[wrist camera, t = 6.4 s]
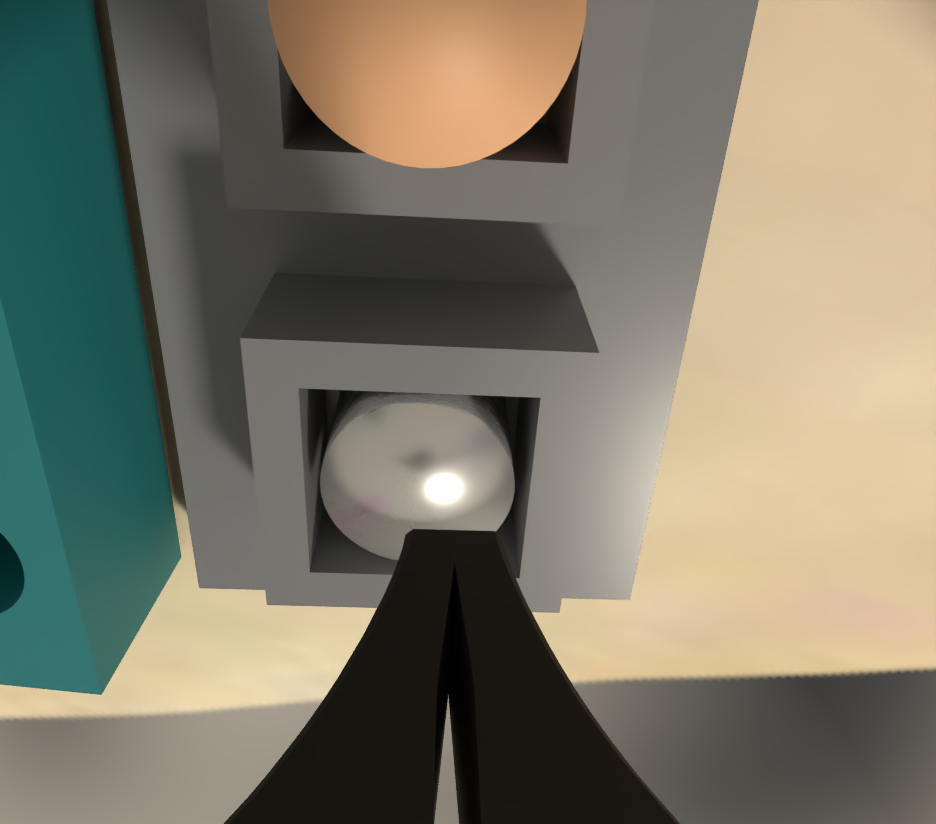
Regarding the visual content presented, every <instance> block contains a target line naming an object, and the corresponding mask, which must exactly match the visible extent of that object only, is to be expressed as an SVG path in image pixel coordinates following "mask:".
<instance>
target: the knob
mask: <svg viewBox="0 0 936 824" xmlns="http://www.w3.org/2000/svg"><path fill="white" fill-rule="evenodd" d="M320 489H321V496H322V499H323V503H324V506H325V508H326V510H327V512H328V514H329V516H330V518H331V519H332V521H333V522H334V524H335V525H336V526H337V527H338V528H339V530H340V531H341V532H342V533H343V534H344V535H346V536H347V537H348V538H349V539H350V540H351V541H353V542H354V543H356V544H357V545H359V546H360V547H362V548H364V549H366V550H368V551H369V552H372V553H374V554H377V555H379V556H382V557H386V558H389V559H393V560H399V557H400V554H401V551H402V547H403V544H404V539H405V535H406V534H407V533H408V532H410V531H411V530H412V529H437V530H476V531H495V532H496V531H497V530H498V528H499V527H500V526H501V524H502V523H503V522H504V520H505V518H506V516H507V515H508V513H509V511H510V508H511V505H512V502H513V497H514V492H515V479H514V470H513V462H512V453H511V445H510V436H509V428H508V419H507V411H506V403H505V397H504V396H483V395H457V394H432V393H406V392H380V391H354V390H341V391H340V394H339V398H338V402H337V406H336V411H335V415H334V419H333V423H332V427H331V431H330V435H329V439H328V443H327V447H326V451H325V455H324V459H323V464H322V468H321V473H320Z"/></svg>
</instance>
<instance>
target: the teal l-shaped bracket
mask: <svg viewBox="0 0 936 824" xmlns="http://www.w3.org/2000/svg"><path fill="white" fill-rule="evenodd" d="M180 558H181V552H180V545H179V539H178V533H177V526H176V520H175V514H174V508H173V501H172V495H171V489H170V482H169V476H168V470H167V463H166V457H165V451H164V445H163V438H162V432H161V426H160V419H159V413H158V407H157V400H156V394H155V388H154V382H153V375H152V369H151V363H150V356H149V350H148V344H147V337H146V331H145V325H144V319H143V312H142V306H141V300H140V293H139V287H138V281H137V274H136V268H135V262H134V256H133V249H132V243H131V237H130V230H129V224H128V218H127V211H126V205H125V199H124V193H123V186H122V180H121V174H120V167H119V161H118V155H117V148H116V142H115V136H114V130H113V123H112V117H111V111H110V104H109V98H108V92H107V85H106V79H105V73H104V67H103V60H102V54H101V48H100V41H99V35H98V29H97V22H96V16H95V10H94V4H93V0H0V684H2V685H12V686H21V687H31V688H41V689H50V690H60V691H70V692H79V693H89V694H99V695H102V693H103V691H104V689H105V688H106V686H107V684H108V683H109V681H110V679H111V677H112V676H113V674H114V672H115V670H116V669H117V667H118V665H119V664H120V662H121V660H122V658H123V657H124V655H125V653H126V651H127V650H128V648H129V646H130V645H131V643H132V641H133V639H134V638H135V636H136V634H137V632H138V631H139V629H140V627H141V626H142V624H143V622H144V620H145V619H146V617H147V615H148V613H149V612H150V610H151V608H152V607H153V605H154V603H155V601H156V600H157V598H158V596H159V594H160V593H161V591H162V589H163V588H164V586H165V584H166V582H167V581H168V579H169V577H170V576H171V574H172V572H173V570H174V569H175V567H176V565H177V563H178V562H179V560H180Z"/></svg>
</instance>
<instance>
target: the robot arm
mask: <svg viewBox="0 0 936 824" xmlns="http://www.w3.org/2000/svg"><path fill="white" fill-rule="evenodd" d="M448 694H449V706H450V719H451V731H452V743H453V755H454V765H455V779H456V791H457V801H458V802H457V803H458V814H459V824H680V823H679V822H678V821H677V820H676V818H675V817H674V816H673V815H672V814H671V813H670V812H669V811H668V809H667V808H666V807H665V806H664V805H663V804H662V802H661V801H660V800H659V799H658V798H657V797H656V796H655V794H654V793H653V792H651V790H650V789H649V788H648V786H647V785H646V784H645V783H644V782H643V781H642V780H641V778H640V777H639V776H638V775H637V774H636V772H635V771H634V770H633V769H632V767H631V766H630V765H629V763H628V762H627V761H626V760H625V758H624V757H623V756H622V754H621V753H620V752H619V750H618V749H617V748H616V747H615V745H614V744H613V743H612V741H611V740H610V739H609V738H608V736H607V735H606V733H605V732H604V730H603V729H602V728H601V726H600V725H599V723H598V722H597V721H596V719H595V718H594V717H593V715H592V714H591V712H590V711H589V709H588V708H587V706H586V705H585V703H584V702H583V700H582V699H581V697H580V696H579V694H578V693H577V691H576V690H575V688H574V686H573V685H572V683H571V682H570V680H569V678H568V677H567V675H566V673H565V672H564V670H563V668H562V667H561V665H560V664H559V662H558V660H557V659H556V657H555V655H554V653H553V652H552V650H551V648H550V646H549V645H548V643H547V641H546V639H545V637H544V635H543V633H542V631H541V629H540V628H539V626H538V624H537V622H536V620H535V618H534V616H533V614H532V612H531V610H530V608H529V606H528V604H527V602H526V600H525V598H524V596H523V594H522V591H521V589H520V587H519V585H518V582H517V580H516V578H515V575H514V573H513V570H512V568H511V565H510V563H509V560H508V557H507V554H506V551H505V548H504V545H503V541H502V537H501V536H499V535H498V534H497V533H496V532H495V531H476V530H437V529H412V530H411V531H410V532H408V533H407V534H406V535H405V539H404V544H403V547H402V551H401V554H400V557H399V560H398V563H397V565H396V568H395V570H394V573H393V575H392V578H391V580H390V582H389V584H388V587H387V589H386V591H385V594H384V596H383V598H382V600H381V602H380V604H379V606H378V608H377V610H376V612H375V614H374V616H373V617H372V619H371V621H370V623H369V625H368V627H367V629H366V631H365V633H364V635H363V637H362V638H361V640H360V642H359V643H358V645H357V647H356V648H355V650H354V652H353V654H352V655H351V657H350V659H349V660H348V662H347V664H346V665H345V667H344V669H343V670H342V672H341V674H340V675H339V677H338V679H337V680H336V682H335V683H334V685H333V686H332V688H331V689H330V691H329V692H328V694H327V695H326V697H325V698H324V700H323V701H322V703H321V704H320V706H319V707H318V709H317V710H316V711H315V713H314V714H313V716H312V717H311V719H310V720H309V721H308V723H307V724H306V725H305V727H304V728H303V729H302V731H301V732H300V734H299V735H298V736H297V738H296V739H295V740H294V741H293V743H292V744H291V745H290V746H289V748H288V749H287V750H286V751H285V753H284V754H283V755H282V757H281V758H280V759H279V760H278V762H277V763H276V764H275V766H274V767H273V768H272V769H271V771H270V772H269V773H268V774H267V775H266V777H265V778H264V779H263V780H262V781H261V783H260V784H259V785H258V786H257V787H256V789H255V790H254V791H253V792H252V793H251V794H250V795H249V797H248V798H247V799H246V800H245V801H244V802H243V803H242V804H241V805H240V806H239V808H238V809H237V810H236V811H235V812H234V813H233V814H232V815H231V816H230V817H229V818H228V820H227V821H226V822H225V823H224V824H434V819H435V810H436V800H437V792H438V783H439V774H440V765H441V756H442V747H443V738H444V729H445V719H446V710H447V701H448Z"/></svg>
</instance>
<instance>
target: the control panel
mask: <svg viewBox="0 0 936 824" xmlns="http://www.w3.org/2000/svg"><path fill="white" fill-rule="evenodd" d="M758 1H759V0H587V5H586V18H585V24H584V30H583V35H582V40H581V43H580V47H579V50H578V53H577V57H576V60H575V62H574V65H573V67H572V69H571V72H570V74H569V76H568V79H567V81H566V82H565V84H564V86H563V88H562V89H561V91H560V93H559V94H558V96H557V98H556V99H555V101H554V102H553V103H552V105H551V106H550V107H549V109H548V110H547V111H546V113H545V114H544V115H543V116H542V117H541V118H540V119H539V120H538V121H537V122H536V123H535V124H534V125H533V126H532V127H531V129H530V130H528V131H527V132H526V133H525V134H523V135H522V136H521V137H520V138H518V139H517V140H516V141H515V142H513V143H511V144H510V145H508V146H506V147H505V148H503V149H502V150H500V151H498V152H496V153H494V154H492V155H490V156H487V157H485V158H483V159H480V160H477V161H474V162H470V163H467V164H464V165H459V166H452V167H446V168H417V167H409V166H403V165H399V164H395V163H391V162H387V161H384V160H382V159H379V158H377V157H374V156H372V155H369V154H367V153H365V152H363V151H362V150H360V149H358V148H356V147H354V146H352V145H351V144H349V143H348V142H347V141H345V140H344V139H342V138H341V137H340V136H338V135H337V134H336V133H334V132H333V131H332V130H331V129H330V128H329V127H328V126H327V125H326V124H325V123H323V122H322V121H321V120H320V119H319V118H318V117H317V115H316V114H315V113H314V112H313V111H312V109H311V108H310V107H309V106H308V105H307V103H306V102H305V101H304V99H303V98H302V96H301V95H300V93H299V92H298V90H297V89H296V87H295V86H294V84H293V82H292V80H291V78H290V76H289V74H288V72H287V70H286V68H285V66H284V64H283V62H282V59H281V56H280V54H279V51H278V48H277V46H276V43H275V39H274V35H273V31H272V26H271V22H270V16H269V8H268V0H107V6H108V13H109V19H110V26H111V32H112V38H113V45H114V51H115V57H116V64H117V70H118V76H119V83H120V89H121V95H122V102H123V108H124V114H125V121H126V127H127V133H128V140H129V146H130V152H131V159H132V165H133V171H134V178H135V184H136V190H137V197H138V203H139V209H140V216H141V222H142V228H143V235H144V241H145V247H146V254H147V260H148V267H149V273H150V279H151V286H152V292H153V298H154V305H155V311H156V317H157V324H158V330H159V336H160V343H161V349H162V355H163V362H164V368H165V374H166V381H167V387H168V393H169V400H170V406H171V412H172V419H173V425H174V431H175V438H176V444H177V450H178V457H179V463H180V469H181V476H182V482H183V489H184V495H185V501H186V508H187V514H188V520H189V527H190V533H191V539H192V546H193V552H194V558H195V565H196V571H197V577H198V584H199V588H216V589H252V590H266V600H267V605H291V606H328V607H366V608H378V606H379V604H380V602H381V600H382V598H383V596H384V594H385V591H386V589H387V587H388V584H389V582H390V580H391V578H392V575H393V573H394V570H395V568H396V565H397V563H398V560H393V559H389V558H386V557H382V556H379V555H377V554H374V553H372V552H369V551H368V550H366V549H364V548H362V547H360V546H359V545H357V544H356V543H354V542H353V541H351V540H350V539H349V538H348V537H347V536H346V535H344V534H343V533H342V532H341V531H340V530H339V528H338V527H337V526H336V525H335V524H334V522H333V521H332V519H331V518H330V516H329V514H328V512H327V510H326V508H325V506H324V503H323V499H322V496H321V489H320V473H321V468H322V464H323V459H324V455H325V451H326V447H327V443H328V439H329V435H330V431H331V427H332V423H333V419H334V415H335V411H336V406H337V402H338V398H339V394H340V391H341V390H354V391H380V392H406V393H432V394H457V395H483V396H504V397H505V403H506V411H507V419H508V428H509V436H510V445H511V453H512V462H513V470H514V479H515V492H514V497H513V502H512V505H511V508H510V511H509V513H508V515H507V516H506V518H505V520H504V522H503V523H502V524H501V526H500V527H499V528H498V530H497V531H496V533H497V534H498V535H499V536H501V537H502V541H503V545H504V548H505V551H506V554H507V557H508V560H509V563H510V565H511V568H512V570H513V573H514V575H515V578H516V580H517V582H518V585H519V587H520V589H521V591H522V594H523V596H524V598H525V600H526V602H527V604H528V606H529V608H530V610H531V612H551V613H559V612H560V605H561V599H562V598H577V599H613V600H630V597H631V592H632V588H633V583H634V578H635V574H636V569H637V564H638V560H639V555H640V550H641V546H642V541H643V536H644V532H645V527H646V523H647V518H648V513H649V509H650V504H651V499H652V495H653V490H654V485H655V481H656V476H657V471H658V467H659V462H660V457H661V453H662V448H663V443H664V439H665V434H666V429H667V425H668V420H669V415H670V411H671V406H672V401H673V397H674V392H675V387H676V383H677V378H678V373H679V369H680V364H681V359H682V355H683V350H684V346H685V341H686V336H687V332H688V327H689V322H690V318H691V313H692V308H693V304H694V299H695V294H696V290H697V285H698V280H699V276H700V271H701V266H702V262H703V257H704V252H705V248H706V243H707V238H708V234H709V229H710V224H711V220H712V215H713V210H714V206H715V201H716V196H717V192H718V187H719V183H720V178H721V173H722V169H723V164H724V159H725V155H726V150H727V145H728V141H729V136H730V131H731V127H732V122H733V117H734V113H735V108H736V103H737V99H738V94H739V89H740V85H741V80H742V75H743V71H744V66H745V61H746V57H747V52H748V47H749V43H750V38H751V33H752V29H753V24H754V19H755V15H756V10H757V6H758Z"/></svg>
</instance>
